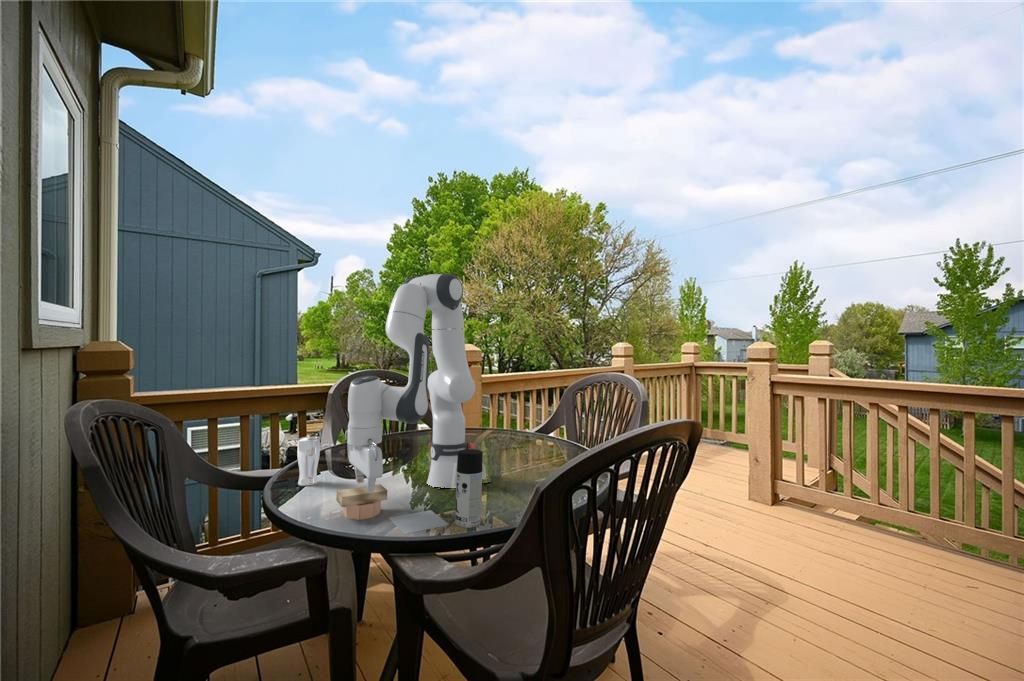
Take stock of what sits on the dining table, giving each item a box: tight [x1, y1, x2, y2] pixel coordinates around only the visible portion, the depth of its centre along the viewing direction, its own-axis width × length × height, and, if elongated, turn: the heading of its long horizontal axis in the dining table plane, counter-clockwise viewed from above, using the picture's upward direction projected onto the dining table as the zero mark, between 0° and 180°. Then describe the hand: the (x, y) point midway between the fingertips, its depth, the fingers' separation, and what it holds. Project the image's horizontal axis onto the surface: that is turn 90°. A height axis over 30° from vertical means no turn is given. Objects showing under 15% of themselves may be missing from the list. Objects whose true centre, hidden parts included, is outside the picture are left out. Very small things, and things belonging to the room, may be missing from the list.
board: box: [335, 484, 388, 508], centre depth 128 cm, size 12×6×3 cm, turn 123°
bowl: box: [342, 501, 382, 521], centre depth 128 cm, size 9×9×5 cm
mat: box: [388, 509, 450, 535], centre depth 123 cm, size 12×12×2 cm
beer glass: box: [296, 436, 321, 487], centre depth 158 cm, size 7×7×15 cm
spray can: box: [454, 448, 484, 528], centre depth 123 cm, size 7×7×20 cm
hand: (365, 486), depth 128 cm, fingers open, 8 cm apart
